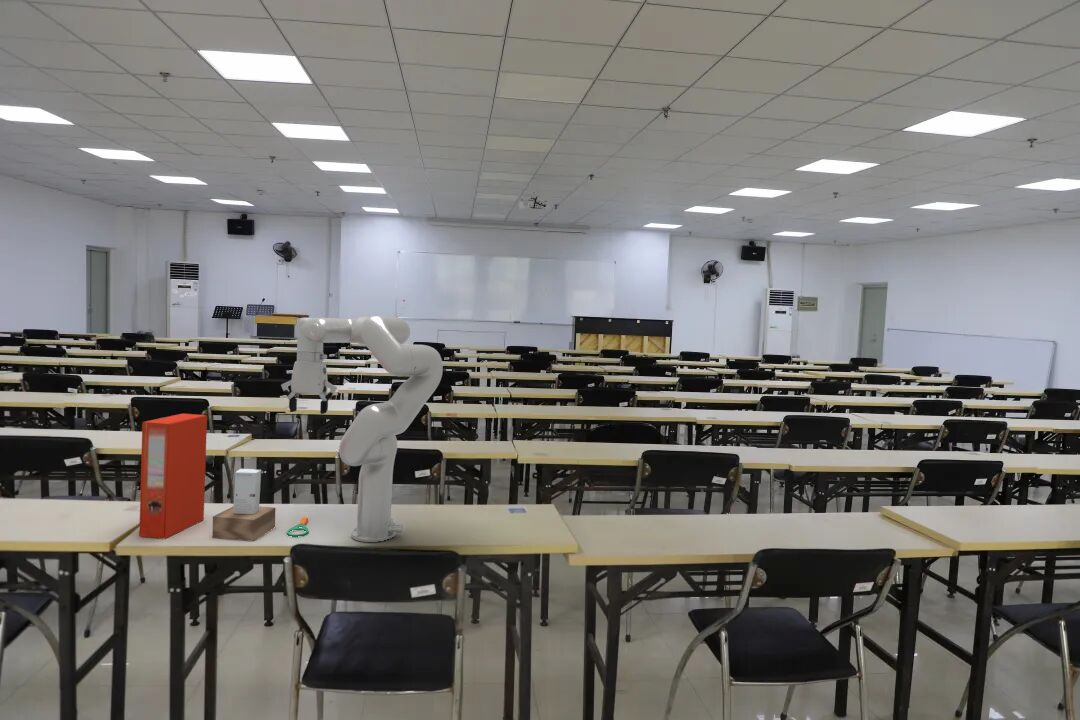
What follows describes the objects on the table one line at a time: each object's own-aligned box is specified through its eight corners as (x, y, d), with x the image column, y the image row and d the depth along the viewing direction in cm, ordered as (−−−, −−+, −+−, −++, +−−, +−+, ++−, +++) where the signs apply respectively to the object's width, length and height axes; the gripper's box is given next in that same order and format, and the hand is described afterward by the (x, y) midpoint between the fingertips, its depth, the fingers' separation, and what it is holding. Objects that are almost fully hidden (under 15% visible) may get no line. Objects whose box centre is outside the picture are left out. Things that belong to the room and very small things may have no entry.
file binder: (204, 520, 193) (207, 415, 191) (167, 539, 176) (169, 423, 174) (179, 518, 193) (181, 413, 192) (139, 537, 176) (141, 421, 174)
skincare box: (232, 514, 181) (233, 471, 180) (238, 509, 185) (239, 468, 185) (255, 514, 182) (256, 472, 181) (260, 510, 186) (261, 468, 185)
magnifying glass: (306, 538, 183) (306, 533, 183) (284, 539, 182) (284, 533, 182) (315, 522, 198) (315, 516, 198) (294, 522, 197) (295, 516, 197)
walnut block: (274, 527, 189) (275, 507, 189) (253, 541, 177) (254, 519, 177) (236, 524, 190) (236, 504, 190) (212, 537, 178) (212, 516, 178)
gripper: (341, 358, 201) (340, 412, 202) (288, 355, 202) (286, 409, 203) (332, 359, 194) (330, 415, 194) (277, 356, 195) (275, 412, 196)
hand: (308, 412), depth 199 cm, fingers open, 9 cm apart
